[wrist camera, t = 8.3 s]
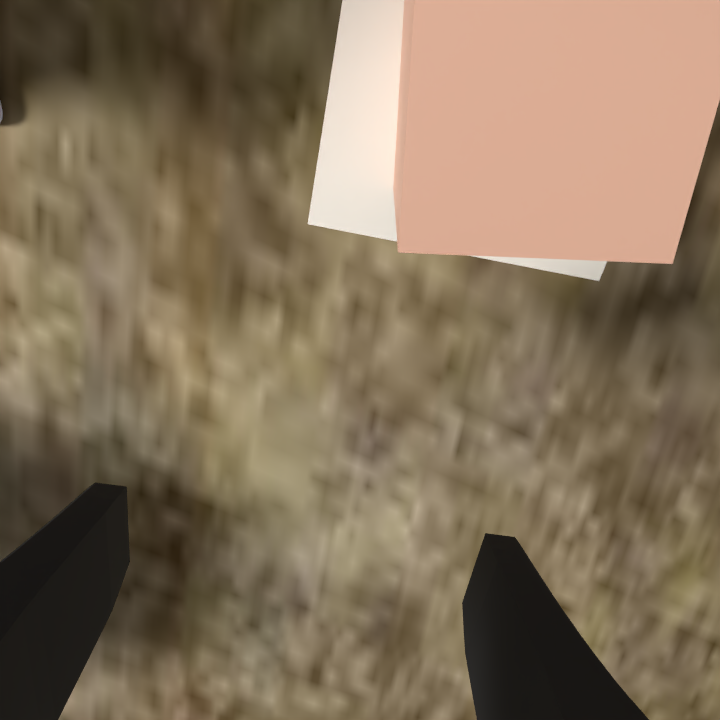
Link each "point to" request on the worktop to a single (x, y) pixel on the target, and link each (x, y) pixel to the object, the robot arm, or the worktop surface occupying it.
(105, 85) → the worktop surface
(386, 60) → the cream base block
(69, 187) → the worktop surface
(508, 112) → the terracotta cube
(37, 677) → the robot arm
